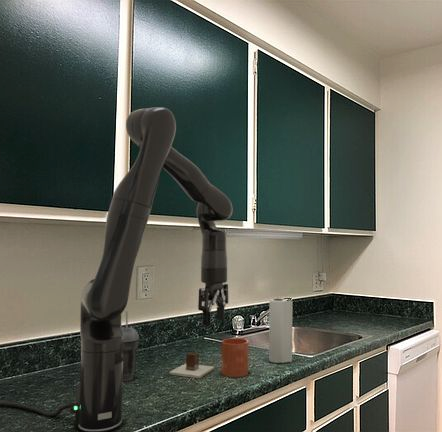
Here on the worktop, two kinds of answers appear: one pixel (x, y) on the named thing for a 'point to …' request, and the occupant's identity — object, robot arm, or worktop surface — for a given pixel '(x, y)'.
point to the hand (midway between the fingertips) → (213, 322)
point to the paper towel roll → (280, 331)
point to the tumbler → (234, 357)
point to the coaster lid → (192, 367)
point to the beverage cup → (129, 351)
